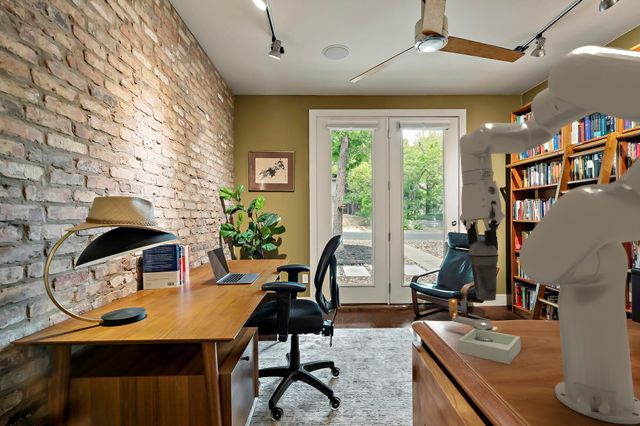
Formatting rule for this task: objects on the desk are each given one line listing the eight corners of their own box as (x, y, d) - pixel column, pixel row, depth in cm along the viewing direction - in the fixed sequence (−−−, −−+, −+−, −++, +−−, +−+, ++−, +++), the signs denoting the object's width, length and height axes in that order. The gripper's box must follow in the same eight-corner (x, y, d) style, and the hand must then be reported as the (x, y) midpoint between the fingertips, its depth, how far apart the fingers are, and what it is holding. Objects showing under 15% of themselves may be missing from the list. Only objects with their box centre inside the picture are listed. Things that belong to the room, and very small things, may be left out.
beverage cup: (506, 302, 78) (500, 223, 80) (475, 302, 80) (469, 224, 81) (496, 295, 86) (490, 223, 87) (467, 295, 87) (462, 224, 88)
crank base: (496, 347, 84) (495, 336, 84) (462, 340, 90) (461, 329, 91) (505, 337, 91) (504, 327, 91) (472, 331, 97) (472, 322, 97)
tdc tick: (494, 331, 97) (494, 329, 97) (491, 330, 97) (491, 329, 97) (497, 328, 99) (497, 327, 99) (494, 328, 99) (494, 326, 99)
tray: (509, 364, 74) (508, 350, 74) (459, 352, 82) (458, 339, 82) (521, 349, 82) (520, 336, 82) (474, 339, 90) (473, 328, 90)
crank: (495, 327, 90) (494, 304, 90) (487, 331, 87) (485, 307, 88) (455, 318, 100) (453, 297, 101) (446, 321, 98) (444, 300, 98)
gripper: (515, 172, 77) (521, 245, 76) (467, 183, 94) (471, 243, 93) (489, 172, 75) (495, 247, 74) (445, 183, 92) (449, 244, 91)
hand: (482, 244), depth 84 cm, fingers closed on beverage cup, 5 cm apart
